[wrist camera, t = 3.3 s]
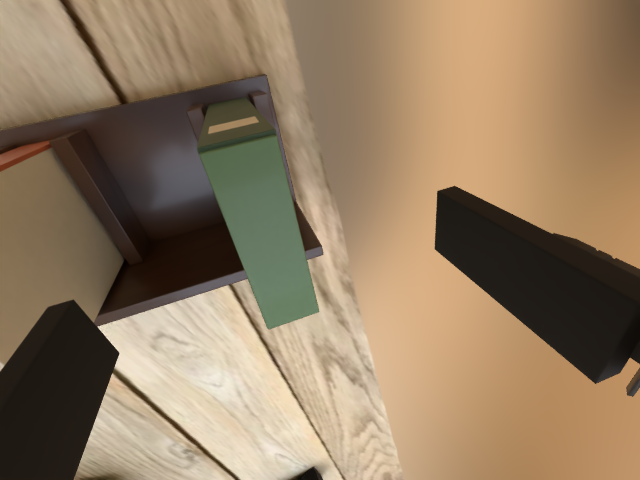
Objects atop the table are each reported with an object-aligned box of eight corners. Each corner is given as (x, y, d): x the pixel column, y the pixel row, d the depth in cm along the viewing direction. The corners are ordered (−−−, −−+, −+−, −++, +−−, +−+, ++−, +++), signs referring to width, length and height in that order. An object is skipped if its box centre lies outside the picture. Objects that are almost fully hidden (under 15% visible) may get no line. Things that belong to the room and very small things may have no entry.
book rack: (-11, 132, 19) (-162, 173, 12) (264, 74, 22) (288, 77, 14) (88, 264, 25) (32, 349, 18) (295, 205, 28) (324, 256, 20)
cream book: (23, 145, 19) (-282, 264, 7) (66, 135, 20) (-158, 234, 8) (99, 252, 24) (-16, 429, 12) (133, 243, 24) (54, 404, 13)
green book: (208, 104, 21) (195, 148, 9) (245, 96, 21) (276, 129, 10) (245, 211, 26) (267, 330, 14) (275, 203, 26) (320, 312, 14)
